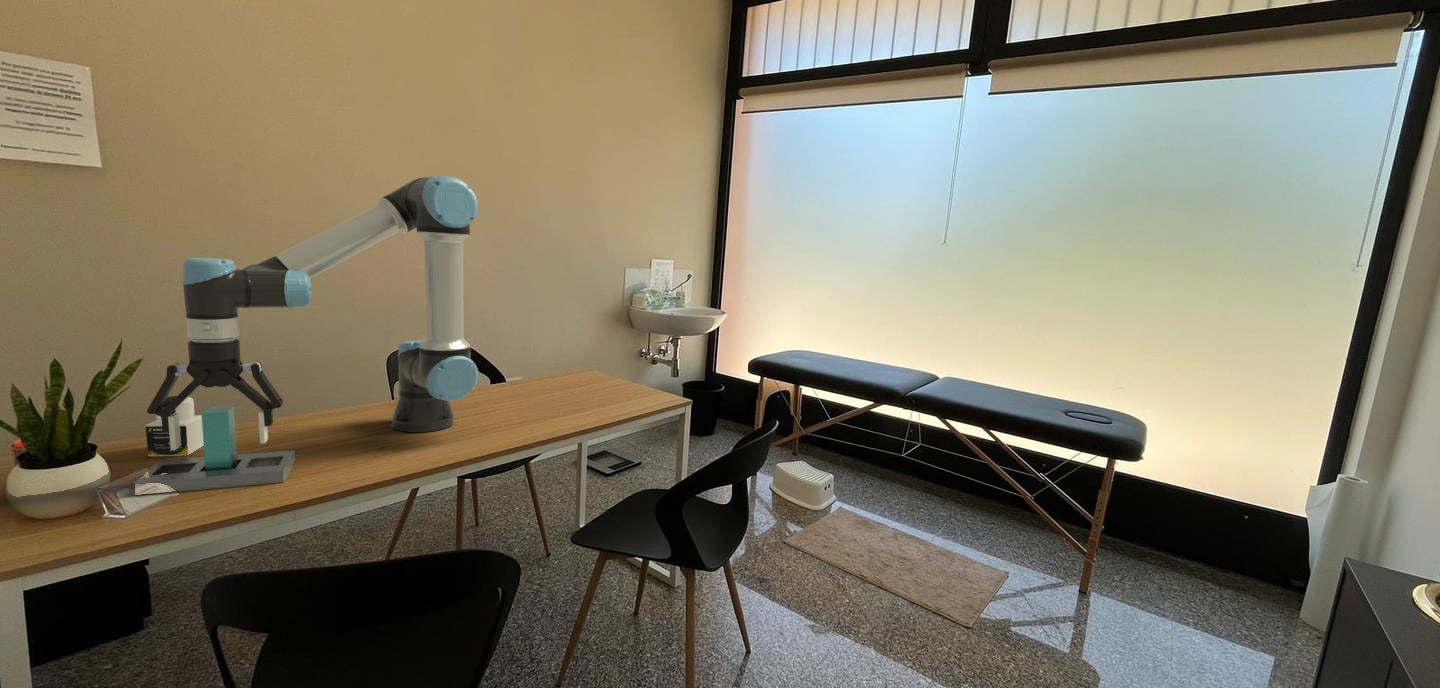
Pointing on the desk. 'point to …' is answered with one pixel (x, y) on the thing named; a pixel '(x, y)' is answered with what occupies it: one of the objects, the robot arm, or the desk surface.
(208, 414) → the peg
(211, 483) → the rail
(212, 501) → the desk surface
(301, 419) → the desk surface
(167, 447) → the medicine bottle
